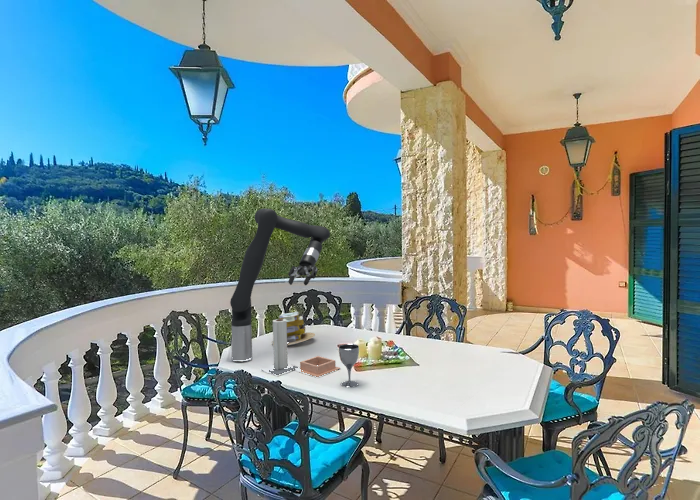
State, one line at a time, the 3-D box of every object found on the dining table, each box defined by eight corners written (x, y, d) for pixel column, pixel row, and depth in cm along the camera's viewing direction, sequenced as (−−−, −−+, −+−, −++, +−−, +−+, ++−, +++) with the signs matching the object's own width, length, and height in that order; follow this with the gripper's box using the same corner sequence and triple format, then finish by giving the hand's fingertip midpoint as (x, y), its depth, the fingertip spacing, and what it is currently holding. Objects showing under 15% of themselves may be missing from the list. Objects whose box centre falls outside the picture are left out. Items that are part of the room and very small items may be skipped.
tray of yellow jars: (264, 347, 212) (264, 317, 212) (279, 336, 237) (278, 308, 237) (309, 348, 209) (308, 317, 209) (319, 336, 234) (318, 308, 233)
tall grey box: (281, 364, 181) (280, 318, 180) (290, 366, 177) (289, 319, 176) (269, 368, 175) (267, 320, 174) (278, 371, 171) (276, 322, 171)
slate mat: (260, 370, 175) (260, 368, 175) (281, 363, 184) (281, 362, 184) (277, 376, 167) (277, 374, 167) (299, 368, 176) (299, 367, 176)
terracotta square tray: (295, 371, 173) (295, 362, 173) (318, 363, 184) (318, 354, 184) (317, 377, 164) (317, 368, 164) (340, 369, 175) (340, 360, 174)
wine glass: (342, 388, 152) (341, 350, 151) (337, 381, 159) (336, 344, 159) (362, 386, 154) (361, 348, 153) (356, 379, 161) (355, 343, 161)
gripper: (294, 253, 199) (281, 278, 189) (318, 253, 192) (306, 279, 182) (300, 263, 204) (288, 288, 194) (324, 263, 197) (313, 289, 187)
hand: (297, 284), depth 188 cm, fingers open, 8 cm apart
